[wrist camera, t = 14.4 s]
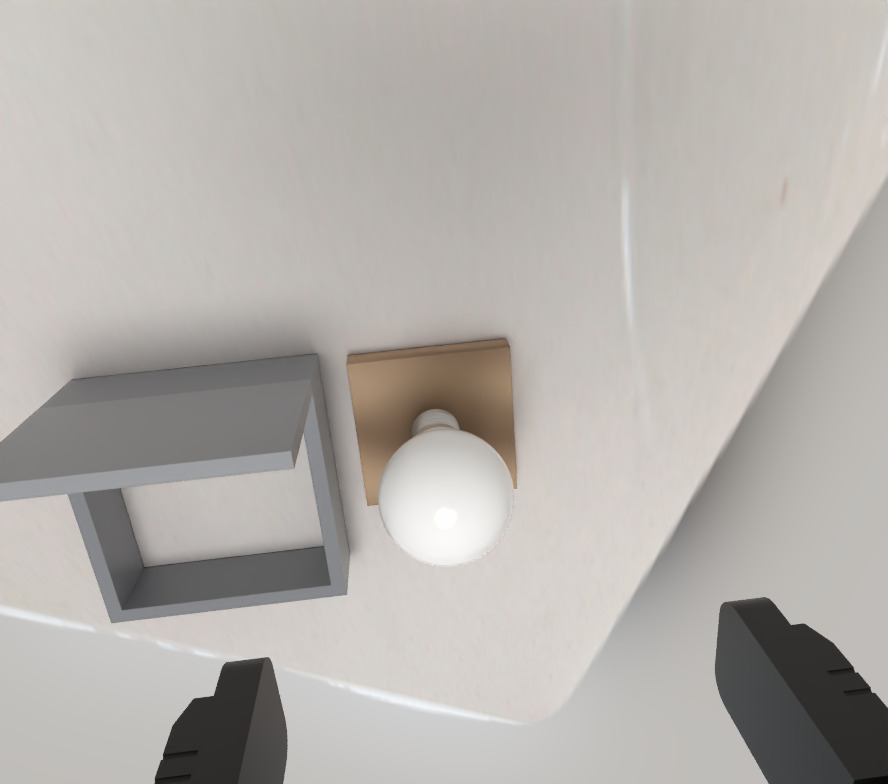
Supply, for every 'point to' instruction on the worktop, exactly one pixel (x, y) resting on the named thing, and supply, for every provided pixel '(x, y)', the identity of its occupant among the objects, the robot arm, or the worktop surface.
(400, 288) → the worktop surface
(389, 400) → the stand
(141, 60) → the worktop surface
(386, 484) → the lightbulb
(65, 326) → the worktop surface
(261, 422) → the case
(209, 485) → the worktop surface
